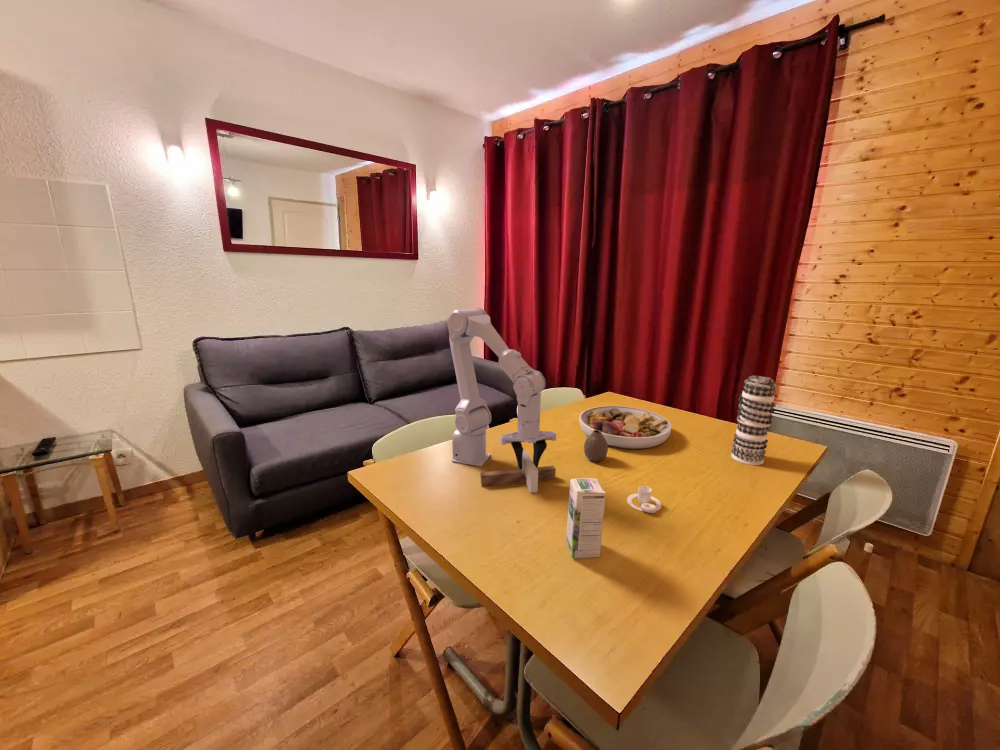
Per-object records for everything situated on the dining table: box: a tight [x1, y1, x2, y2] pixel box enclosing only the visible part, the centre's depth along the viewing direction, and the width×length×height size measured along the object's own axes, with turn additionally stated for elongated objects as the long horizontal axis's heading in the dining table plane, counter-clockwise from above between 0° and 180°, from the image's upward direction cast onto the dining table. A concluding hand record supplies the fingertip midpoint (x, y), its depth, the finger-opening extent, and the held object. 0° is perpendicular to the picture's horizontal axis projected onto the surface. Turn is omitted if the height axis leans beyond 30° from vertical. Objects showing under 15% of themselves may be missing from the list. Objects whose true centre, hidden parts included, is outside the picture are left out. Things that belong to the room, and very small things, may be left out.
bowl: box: [578, 405, 672, 450], centre depth 141 cm, size 30×30×8 cm
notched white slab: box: [521, 449, 539, 494], centre depth 109 cm, size 12×2×6 cm, turn 11°
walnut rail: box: [480, 465, 557, 487], centre depth 109 cm, size 20×2×3 cm, turn 101°
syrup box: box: [565, 477, 607, 559], centre depth 82 cm, size 6×6×14 cm
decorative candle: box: [730, 375, 778, 466], centre depth 120 cm, size 9×9×25 cm
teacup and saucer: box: [626, 485, 662, 514], centre depth 99 cm, size 9×8×4 cm
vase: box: [583, 430, 609, 463], centre depth 121 cm, size 7×7×9 cm
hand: (527, 466), depth 109 cm, fingers open, 4 cm apart
